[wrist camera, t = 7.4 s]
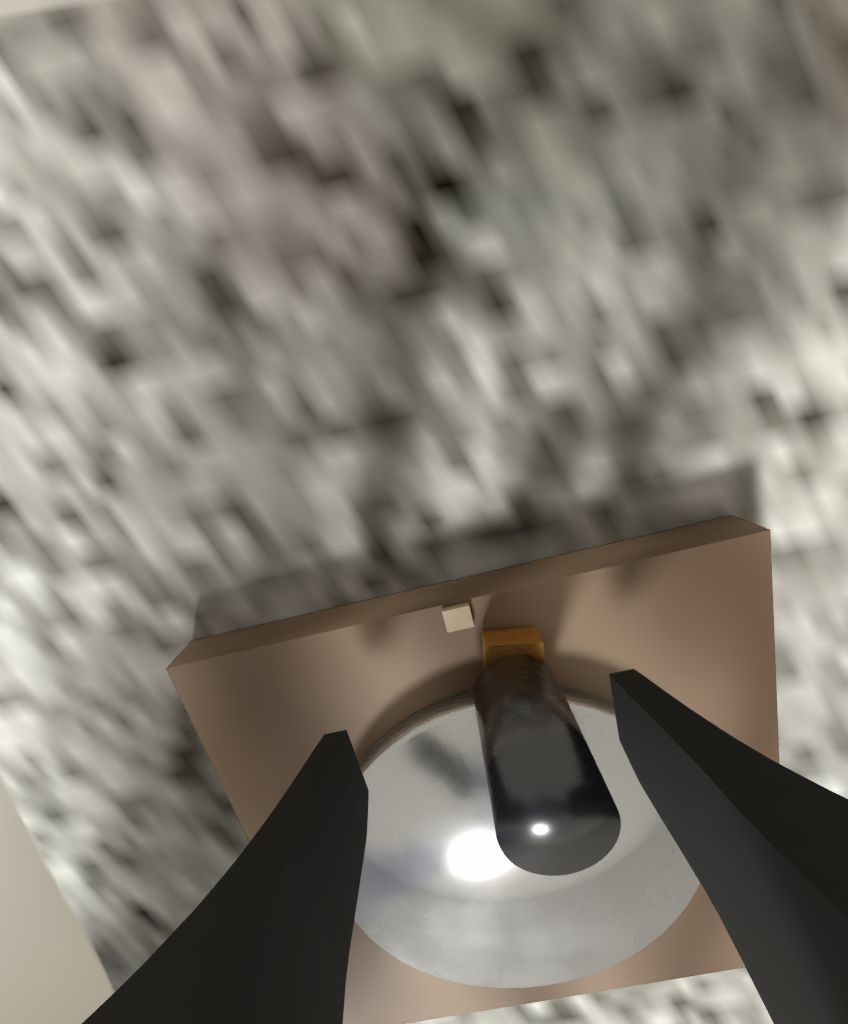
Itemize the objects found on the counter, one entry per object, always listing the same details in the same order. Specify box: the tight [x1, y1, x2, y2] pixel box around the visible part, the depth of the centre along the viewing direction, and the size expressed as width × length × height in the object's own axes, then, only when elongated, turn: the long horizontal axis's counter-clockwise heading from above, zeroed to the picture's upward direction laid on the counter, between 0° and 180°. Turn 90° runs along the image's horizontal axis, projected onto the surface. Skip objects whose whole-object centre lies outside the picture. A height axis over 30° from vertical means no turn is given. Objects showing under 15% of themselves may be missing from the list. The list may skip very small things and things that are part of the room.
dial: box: [354, 627, 700, 988], centre depth 12 cm, size 14×12×5 cm
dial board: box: [166, 515, 779, 1024], centre depth 15 cm, size 18×18×2 cm
